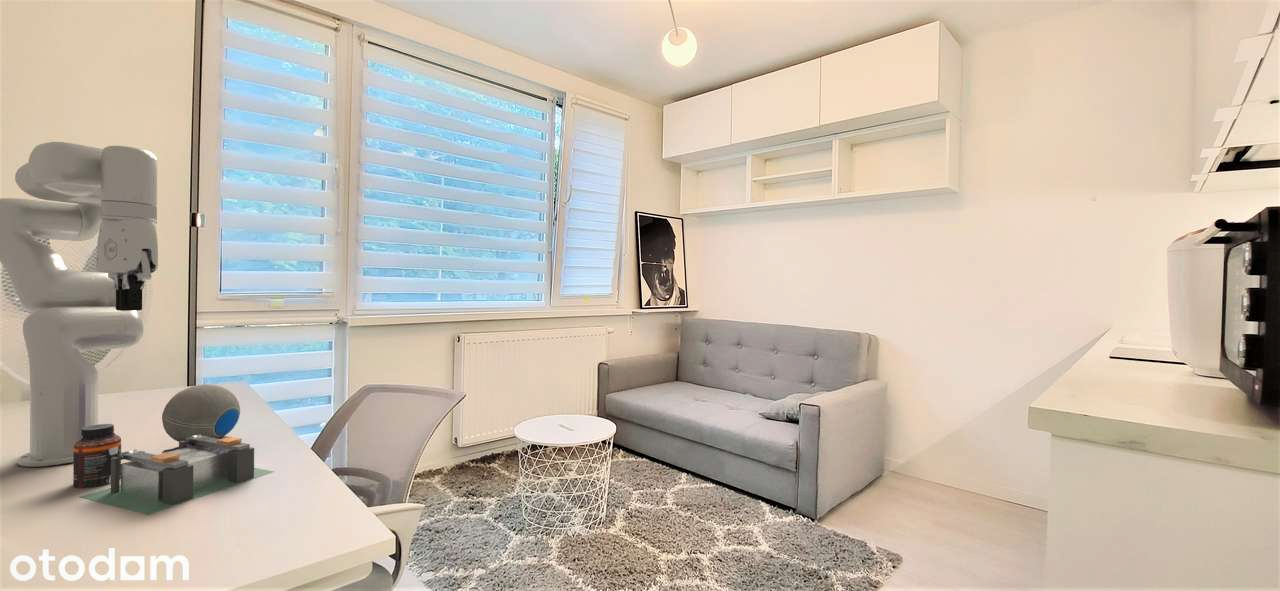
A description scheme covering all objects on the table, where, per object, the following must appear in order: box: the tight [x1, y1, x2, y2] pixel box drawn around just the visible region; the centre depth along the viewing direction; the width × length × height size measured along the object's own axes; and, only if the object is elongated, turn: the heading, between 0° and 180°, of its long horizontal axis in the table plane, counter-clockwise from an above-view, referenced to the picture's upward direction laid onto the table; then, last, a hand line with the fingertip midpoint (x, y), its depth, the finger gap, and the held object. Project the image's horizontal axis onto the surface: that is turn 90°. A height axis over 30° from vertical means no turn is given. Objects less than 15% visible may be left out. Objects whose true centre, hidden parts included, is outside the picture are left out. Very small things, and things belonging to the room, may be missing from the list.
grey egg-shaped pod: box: [161, 384, 241, 454], centre depth 112 cm, size 13×13×15 cm
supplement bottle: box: [72, 423, 122, 489], centre depth 92 cm, size 6×6×11 cm
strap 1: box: [118, 448, 188, 470], centre depth 87 cm, size 15×2×2 cm, turn 72°
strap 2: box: [185, 434, 251, 451], centre depth 97 cm, size 15×2×2 cm, turn 72°
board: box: [79, 436, 275, 515], centre depth 92 cm, size 18×20×7 cm
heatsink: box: [120, 444, 230, 502], centre depth 92 cm, size 10×13×5 cm
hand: (129, 310), depth 97 cm, fingers closed
